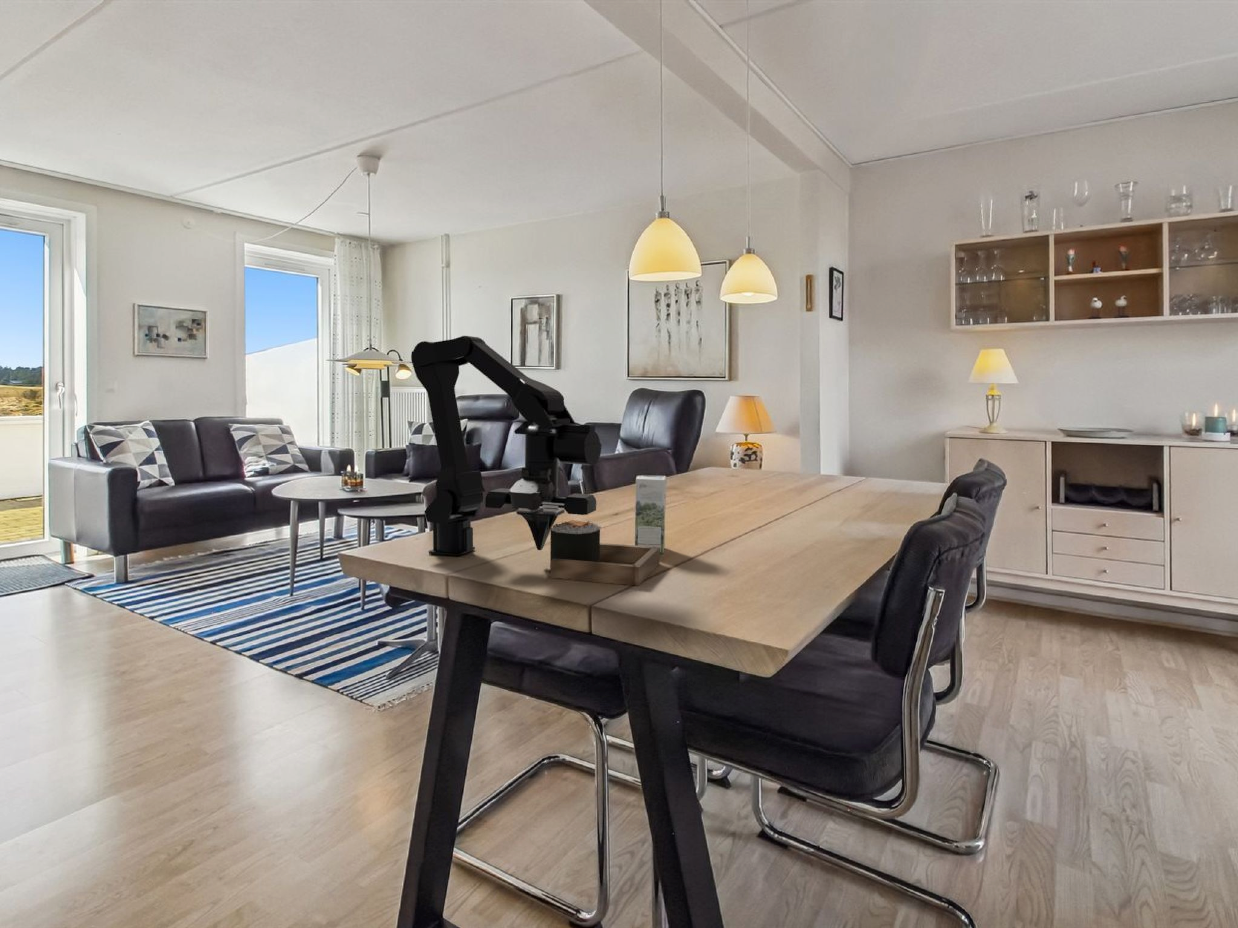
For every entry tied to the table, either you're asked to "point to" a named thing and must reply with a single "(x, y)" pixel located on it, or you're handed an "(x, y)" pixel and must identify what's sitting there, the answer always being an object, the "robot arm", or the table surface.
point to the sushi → (575, 541)
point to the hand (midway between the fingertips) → (540, 549)
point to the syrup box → (650, 511)
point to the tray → (611, 565)
